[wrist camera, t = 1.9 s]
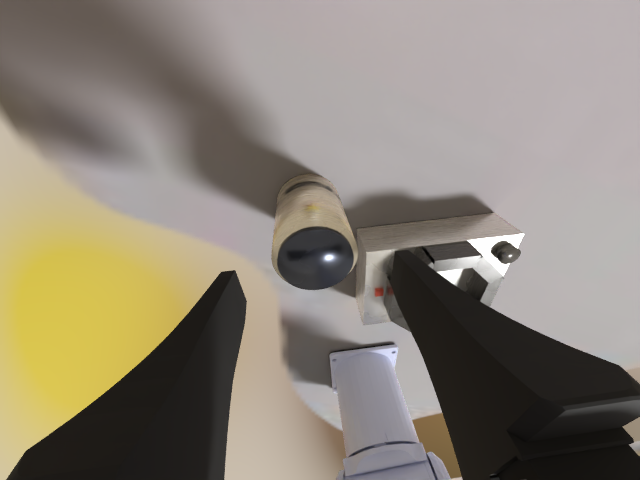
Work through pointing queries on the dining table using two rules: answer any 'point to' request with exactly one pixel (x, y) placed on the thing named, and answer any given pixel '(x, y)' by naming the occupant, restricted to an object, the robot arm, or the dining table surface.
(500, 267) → the white knob box
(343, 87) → the dining table surface
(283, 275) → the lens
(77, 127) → the dining table surface
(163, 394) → the robot arm
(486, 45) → the dining table surface
